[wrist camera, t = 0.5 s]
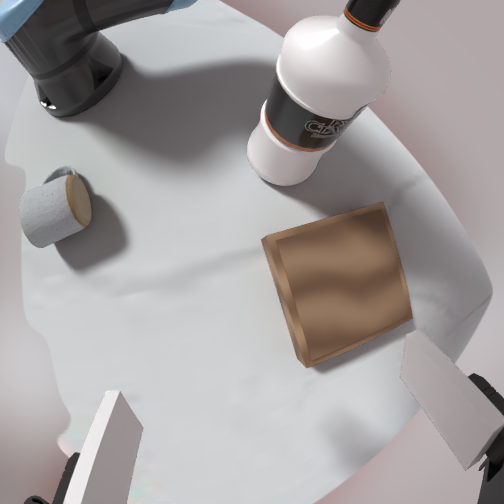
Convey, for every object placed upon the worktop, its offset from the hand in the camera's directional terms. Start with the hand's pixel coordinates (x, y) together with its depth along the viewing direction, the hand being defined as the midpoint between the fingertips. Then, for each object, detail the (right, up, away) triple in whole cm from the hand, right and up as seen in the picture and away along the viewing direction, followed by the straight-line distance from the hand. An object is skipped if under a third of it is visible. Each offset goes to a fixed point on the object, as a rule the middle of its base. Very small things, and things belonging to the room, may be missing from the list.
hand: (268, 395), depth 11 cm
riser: (+10, +2, +25) cm, 27 cm away
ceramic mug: (-26, +12, +21) cm, 36 cm away
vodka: (+3, +19, +25) cm, 32 cm away
